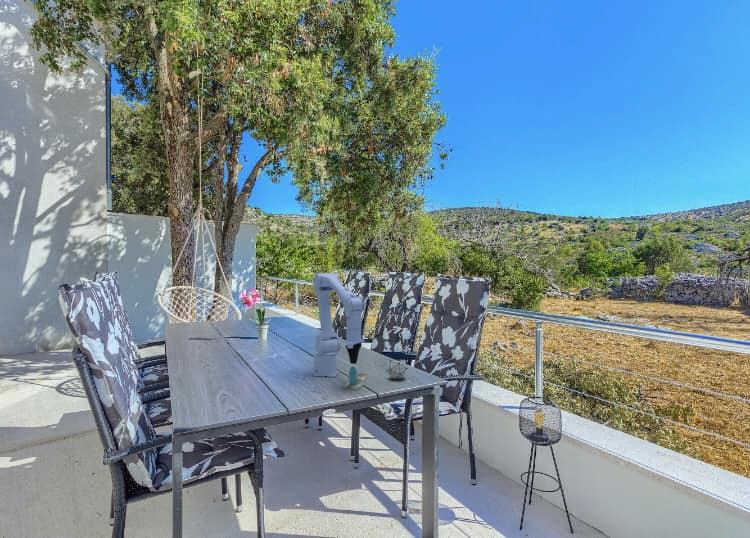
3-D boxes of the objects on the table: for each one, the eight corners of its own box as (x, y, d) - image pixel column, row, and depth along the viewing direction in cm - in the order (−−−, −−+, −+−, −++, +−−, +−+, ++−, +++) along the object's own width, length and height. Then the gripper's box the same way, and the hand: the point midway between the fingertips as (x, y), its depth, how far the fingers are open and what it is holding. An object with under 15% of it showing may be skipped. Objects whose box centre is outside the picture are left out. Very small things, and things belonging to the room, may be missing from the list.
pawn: (348, 385, 154) (348, 367, 154) (350, 382, 157) (350, 365, 157) (356, 385, 153) (355, 367, 153) (358, 383, 156) (357, 365, 156)
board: (344, 388, 153) (344, 385, 153) (353, 375, 171) (353, 373, 171) (359, 389, 152) (359, 386, 152) (367, 376, 170) (367, 373, 170)
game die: (400, 389, 165) (405, 373, 159) (381, 380, 167) (386, 365, 161) (406, 373, 172) (412, 358, 166) (388, 365, 174) (393, 350, 168)
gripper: (360, 331, 147) (360, 368, 147) (366, 325, 161) (366, 359, 161) (341, 331, 148) (341, 367, 148) (349, 325, 162) (349, 358, 162)
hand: (353, 363), depth 155 cm, fingers closed
